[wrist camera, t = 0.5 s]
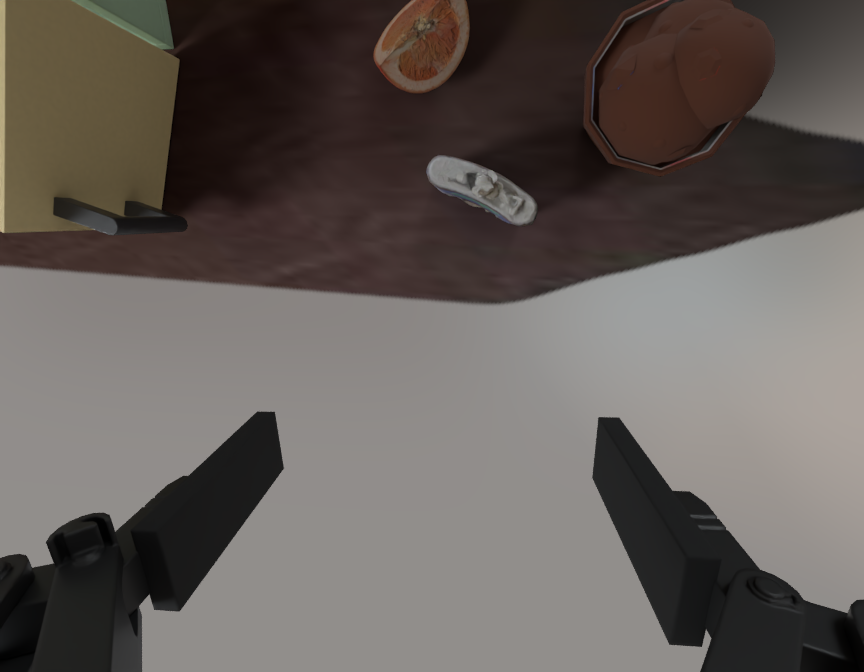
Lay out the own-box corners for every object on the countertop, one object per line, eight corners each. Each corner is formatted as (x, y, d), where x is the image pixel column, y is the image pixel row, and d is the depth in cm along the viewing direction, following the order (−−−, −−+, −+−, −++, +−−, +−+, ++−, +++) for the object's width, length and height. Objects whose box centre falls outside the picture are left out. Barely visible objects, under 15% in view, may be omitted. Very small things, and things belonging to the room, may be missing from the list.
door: (233, 78, 37) (90, -5, 23) (206, 244, 42) (75, 258, 28) (169, 55, 37) (-11, -42, 23) (150, 224, 42) (-10, 228, 28)
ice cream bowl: (636, 17, 33) (762, -133, 19) (706, 129, 35) (869, 69, 21) (531, 110, 36) (572, 39, 22) (601, 210, 38) (682, 206, 24)
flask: (431, 188, 39) (418, 177, 28) (444, 157, 38) (435, 135, 28) (517, 229, 39) (534, 233, 29) (531, 200, 38) (555, 193, 28)
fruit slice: (437, -20, 34) (432, -59, 29) (487, 48, 35) (490, 22, 30) (367, 56, 36) (351, 32, 31) (415, 119, 37) (407, 104, 32)
